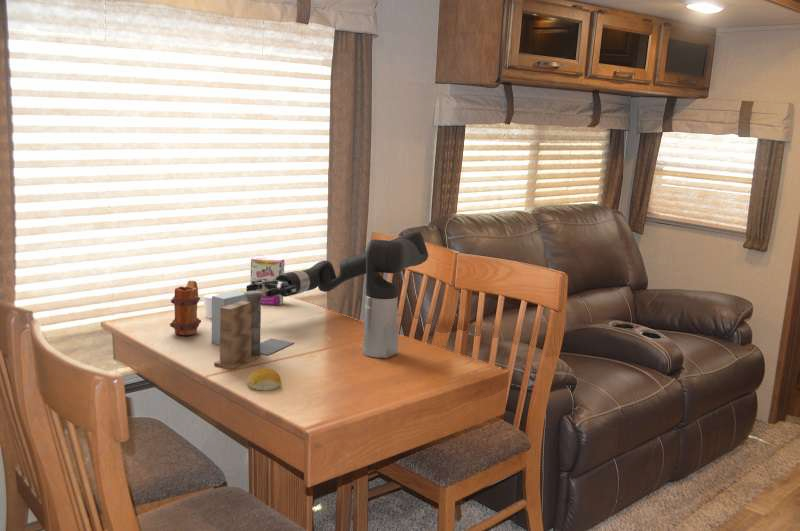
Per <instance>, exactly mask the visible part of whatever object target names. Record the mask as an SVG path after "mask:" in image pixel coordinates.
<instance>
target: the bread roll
mask: <svg viewBox="0 0 800 531" xmlns="http://www.w3.org/2000/svg"><path fill="white" fill-rule="evenodd" d="M246 382H247V385H248V387H249V388H250V389H251V390H254V389H256V390H255V391H259V390H269V391H275V390H277V389H278V388H280V387H281V385H282V380H281V376H280V374H279V373H278V372H277V371H275V370H274V369H271V368H260V369H257V370H255V371H253V372H251V374H249V376H248V377H247V380H246ZM276 388H277V389H276ZM274 389H275V390H274Z"/></svg>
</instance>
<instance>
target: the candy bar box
mask: <svg viewBox="0 0 800 531" xmlns="http://www.w3.org/2000/svg"><path fill="white" fill-rule="evenodd" d="M285 263H286V262H285V259H283V258H274V257H273V258H272V257H261V256H254V257H253V258H251V259H250V284H252V281H256V280H262V279H267V281H270V280H275V279H276V278H277V276H278V275H280V274H283V273H285ZM265 289H267V287H265ZM260 291H261V290H260ZM261 292H263V291H261ZM282 304H284V297H283V296H281V295H280V296H277V295H276V296H272V297H267V292H263V297H261V305H266V306H276V307H280V306H281V305H282Z"/></svg>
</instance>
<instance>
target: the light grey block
mask: <svg viewBox="0 0 800 531" xmlns="http://www.w3.org/2000/svg"><path fill="white" fill-rule="evenodd" d="M244 292H245V291H239V290H233V291H229V292H224V293H218V294H219V295H214V296H212V318H211V343H212V344H216V345H220V308H221V307H224V306H227V305H231V304H234V303H237V302H240V301H246V297H245V296H244Z"/></svg>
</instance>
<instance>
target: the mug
mask: <svg viewBox="0 0 800 531" xmlns="http://www.w3.org/2000/svg"><path fill="white" fill-rule="evenodd" d="M186 284H187V285H186V286H178V287H175V288H174V296H173V297H172V299H171V300H170V303H172V304H173V305H174V319H173V320H172V322H170V324H169V327H171V328H172V329H174V333H175V334H176V335H178V336H192V335H195V334H196V333H197V330H198V328H199V326H200V324H201V323H202V320H201V319H199V318H198V312H197V311H198V303H199V301H200V300H201V297H199V288H198V283H197V281H196V280H188V281H187V283H186Z"/></svg>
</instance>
